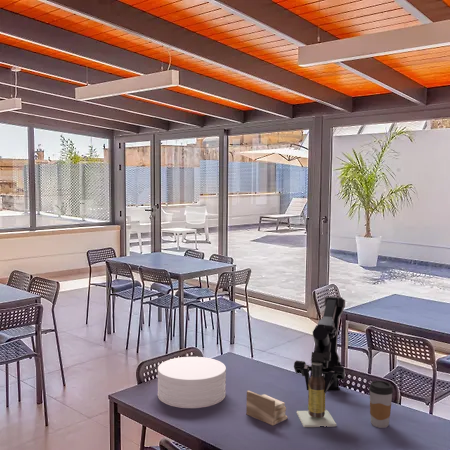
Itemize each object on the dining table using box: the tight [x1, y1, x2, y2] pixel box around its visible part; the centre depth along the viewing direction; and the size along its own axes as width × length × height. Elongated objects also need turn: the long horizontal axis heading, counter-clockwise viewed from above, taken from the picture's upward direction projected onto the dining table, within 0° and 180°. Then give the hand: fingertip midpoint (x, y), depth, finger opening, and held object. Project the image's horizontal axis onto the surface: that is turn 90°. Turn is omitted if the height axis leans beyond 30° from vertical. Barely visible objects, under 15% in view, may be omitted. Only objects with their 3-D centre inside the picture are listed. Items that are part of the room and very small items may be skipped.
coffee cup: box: [368, 380, 394, 429], centre depth 192 cm, size 8×8×15 cm
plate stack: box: [157, 356, 227, 409], centre depth 218 cm, size 28×28×12 cm
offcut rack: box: [245, 390, 288, 426], centre depth 198 cm, size 9×13×9 cm
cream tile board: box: [296, 409, 337, 428], centre depth 196 cm, size 12×12×1 cm
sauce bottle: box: [307, 362, 326, 418], centre depth 195 cm, size 6×6×20 cm
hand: (316, 391), depth 194 cm, fingers closed on sauce bottle, 6 cm apart
